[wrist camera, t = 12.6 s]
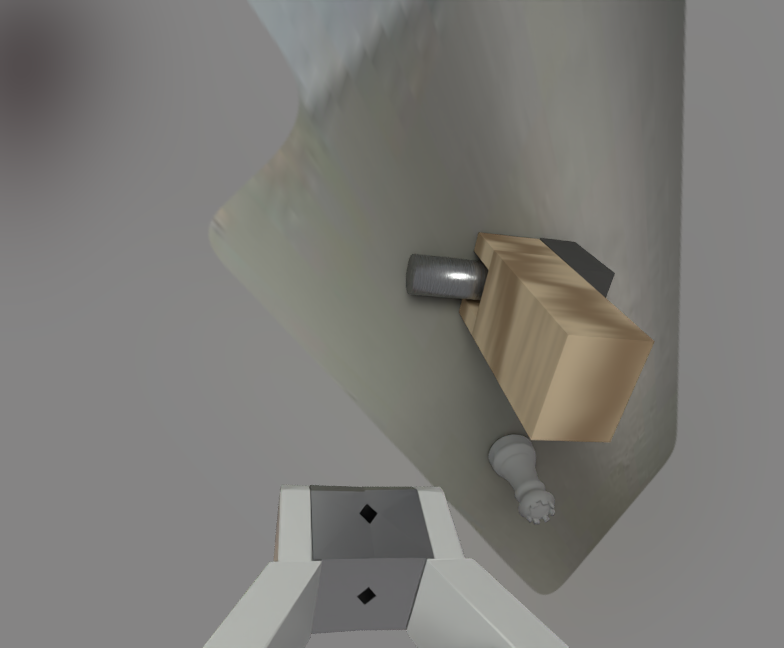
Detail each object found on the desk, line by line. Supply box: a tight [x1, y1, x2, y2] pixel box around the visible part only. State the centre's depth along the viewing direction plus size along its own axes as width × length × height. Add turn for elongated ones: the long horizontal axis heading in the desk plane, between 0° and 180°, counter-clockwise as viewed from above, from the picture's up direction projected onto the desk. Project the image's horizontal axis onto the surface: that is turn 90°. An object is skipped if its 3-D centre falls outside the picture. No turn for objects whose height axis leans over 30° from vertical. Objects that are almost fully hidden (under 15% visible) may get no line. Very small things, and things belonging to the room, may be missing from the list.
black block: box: [540, 238, 615, 298], centre depth 42 cm, size 3×7×6 cm, turn 170°
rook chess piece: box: [488, 434, 555, 524], centre depth 50 cm, size 4×4×8 cm
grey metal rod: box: [406, 254, 489, 300], centre depth 42 cm, size 15×3×3 cm, turn 80°
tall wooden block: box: [459, 232, 655, 442], centre depth 37 cm, size 5×7×16 cm
